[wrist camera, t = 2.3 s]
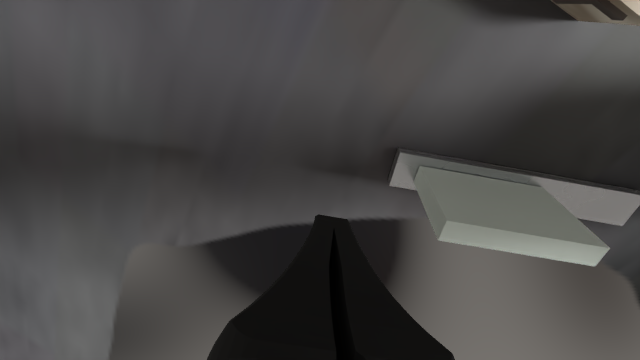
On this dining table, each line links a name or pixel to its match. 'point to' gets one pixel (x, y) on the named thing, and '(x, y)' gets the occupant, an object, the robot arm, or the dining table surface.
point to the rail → (571, 193)
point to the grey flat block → (504, 217)
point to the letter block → (603, 10)
